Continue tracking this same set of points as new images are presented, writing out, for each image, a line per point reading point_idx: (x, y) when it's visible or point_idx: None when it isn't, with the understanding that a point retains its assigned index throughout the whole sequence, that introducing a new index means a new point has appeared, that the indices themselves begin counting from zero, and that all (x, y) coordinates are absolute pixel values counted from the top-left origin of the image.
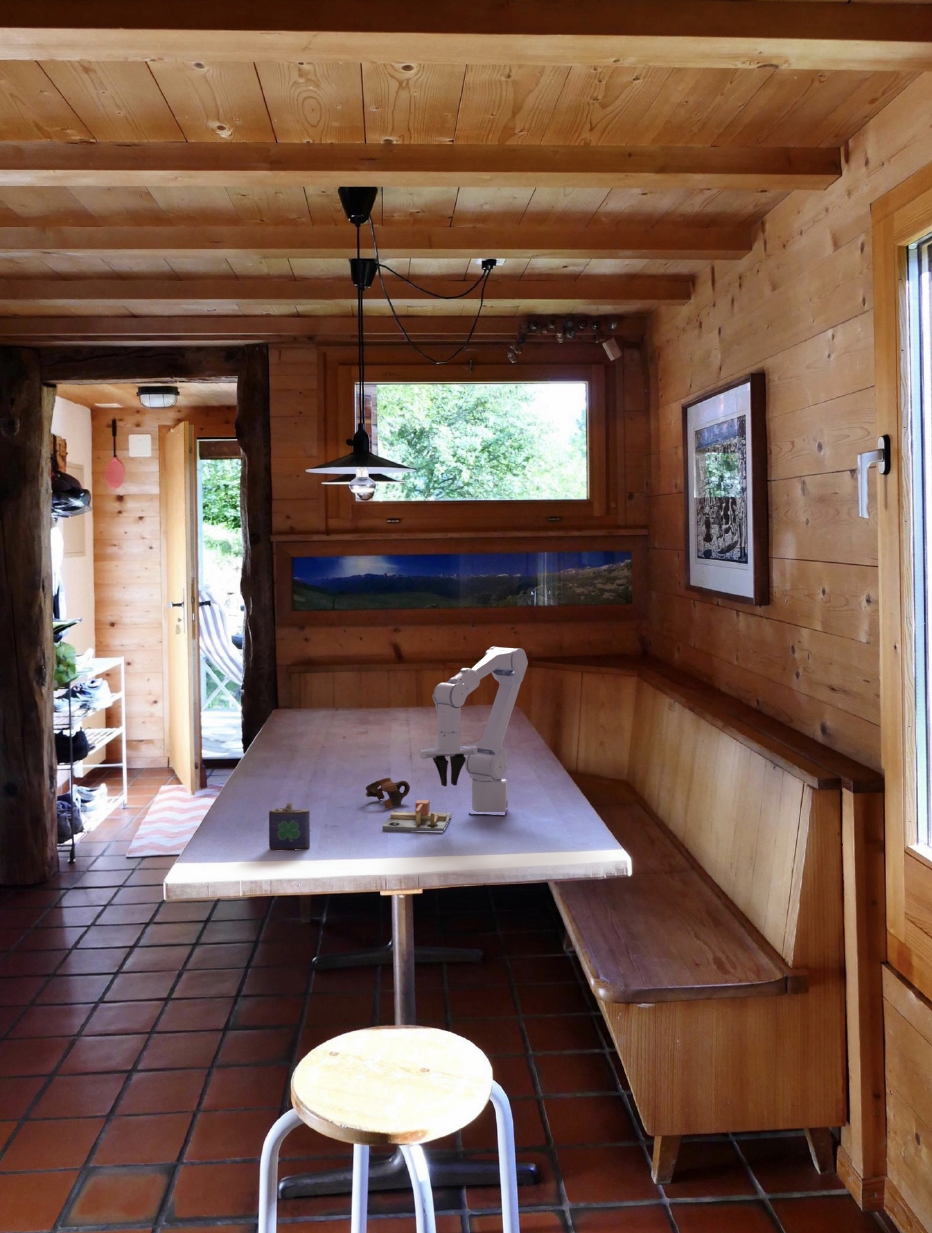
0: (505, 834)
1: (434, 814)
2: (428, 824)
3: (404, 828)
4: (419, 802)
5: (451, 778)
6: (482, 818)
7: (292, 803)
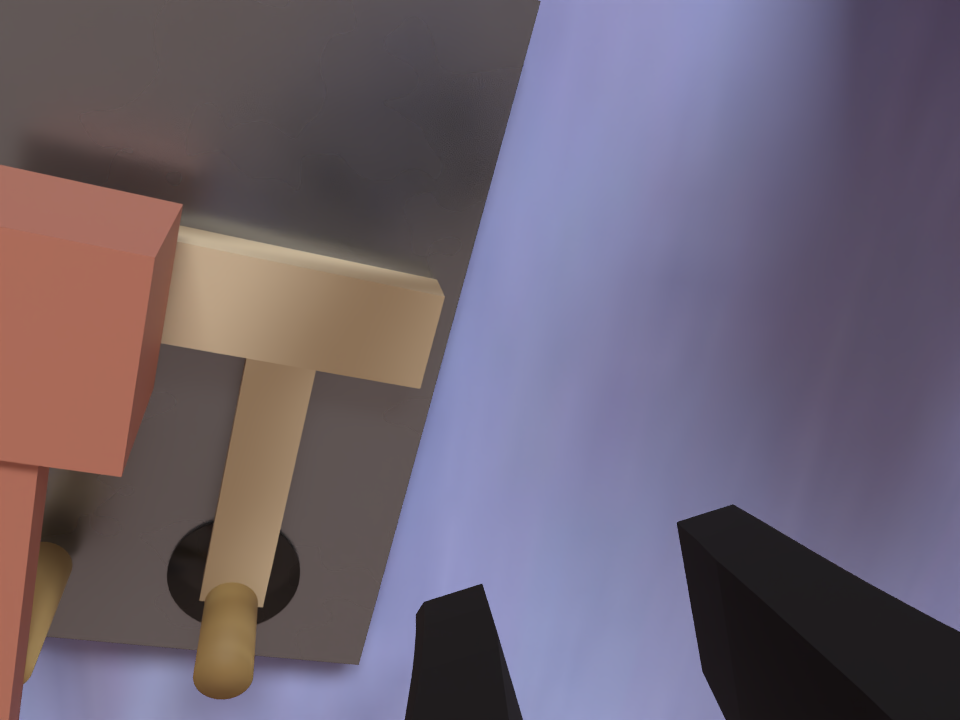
0: None
1: (252, 673)
2: (183, 549)
3: None
4: None
5: (740, 600)
6: (897, 84)
7: None
